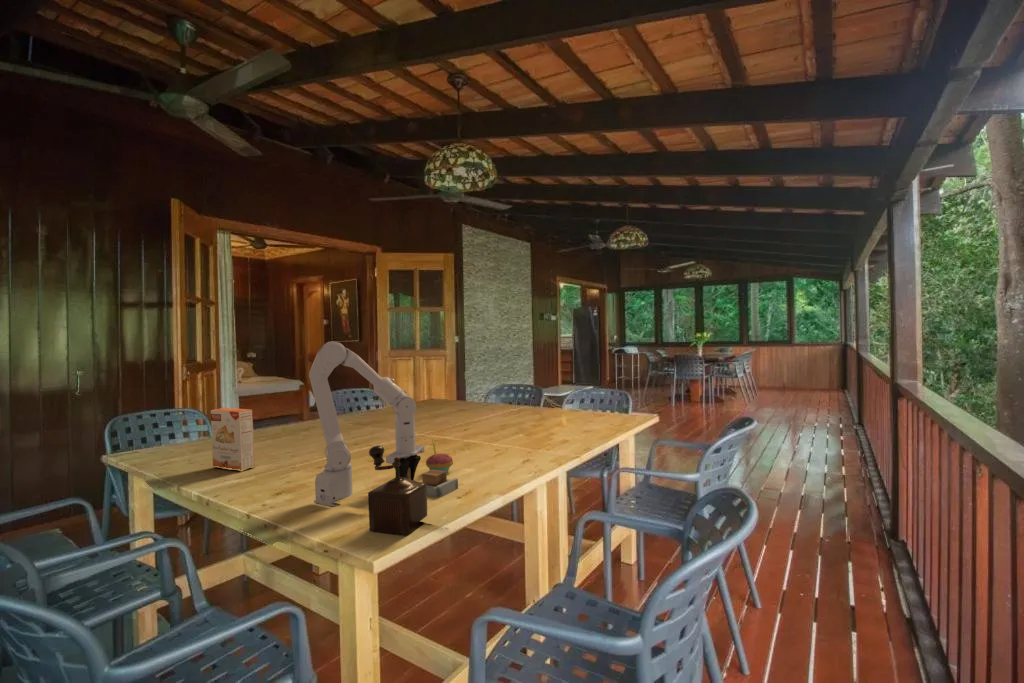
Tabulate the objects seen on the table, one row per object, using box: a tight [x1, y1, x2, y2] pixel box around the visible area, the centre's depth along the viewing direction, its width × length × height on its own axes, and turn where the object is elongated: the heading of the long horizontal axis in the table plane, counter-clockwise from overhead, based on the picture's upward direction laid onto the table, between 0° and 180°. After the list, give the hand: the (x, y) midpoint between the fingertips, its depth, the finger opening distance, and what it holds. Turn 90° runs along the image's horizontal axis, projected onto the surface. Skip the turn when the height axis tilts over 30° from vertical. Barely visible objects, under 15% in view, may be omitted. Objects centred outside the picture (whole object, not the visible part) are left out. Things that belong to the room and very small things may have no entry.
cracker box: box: [210, 407, 255, 470], centre depth 174 cm, size 14×6×21 cm, turn 67°
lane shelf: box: [427, 477, 459, 498], centre depth 143 cm, size 12×18×4 cm, turn 60°
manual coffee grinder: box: [367, 444, 428, 537], centre depth 120 cm, size 16×11×18 cm
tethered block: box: [407, 467, 448, 487], centre depth 143 cm, size 4×14×5 cm, turn 60°
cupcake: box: [425, 439, 454, 474], centre depth 159 cm, size 9×8×12 cm
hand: (406, 482), depth 146 cm, fingers closed on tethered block, 2 cm apart
